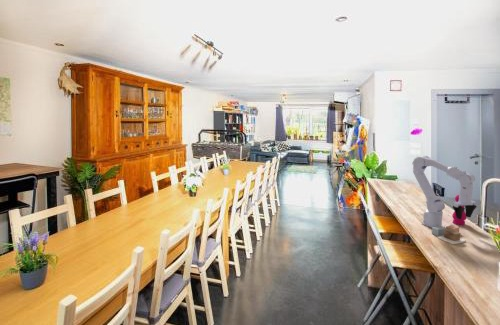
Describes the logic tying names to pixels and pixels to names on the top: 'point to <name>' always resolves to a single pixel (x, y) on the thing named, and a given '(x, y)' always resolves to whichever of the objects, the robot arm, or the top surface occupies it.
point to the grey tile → (451, 240)
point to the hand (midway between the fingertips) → (463, 217)
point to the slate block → (438, 230)
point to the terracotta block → (453, 228)
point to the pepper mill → (461, 221)
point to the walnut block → (452, 235)
